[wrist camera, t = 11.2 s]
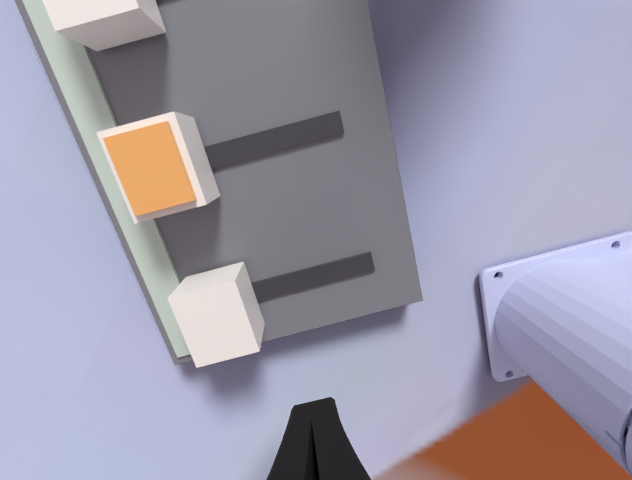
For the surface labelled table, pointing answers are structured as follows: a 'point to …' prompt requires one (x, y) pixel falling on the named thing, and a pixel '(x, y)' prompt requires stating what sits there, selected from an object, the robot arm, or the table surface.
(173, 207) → the lever
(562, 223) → the table surface
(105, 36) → the lever
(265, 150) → the breaker panel
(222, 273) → the lever
